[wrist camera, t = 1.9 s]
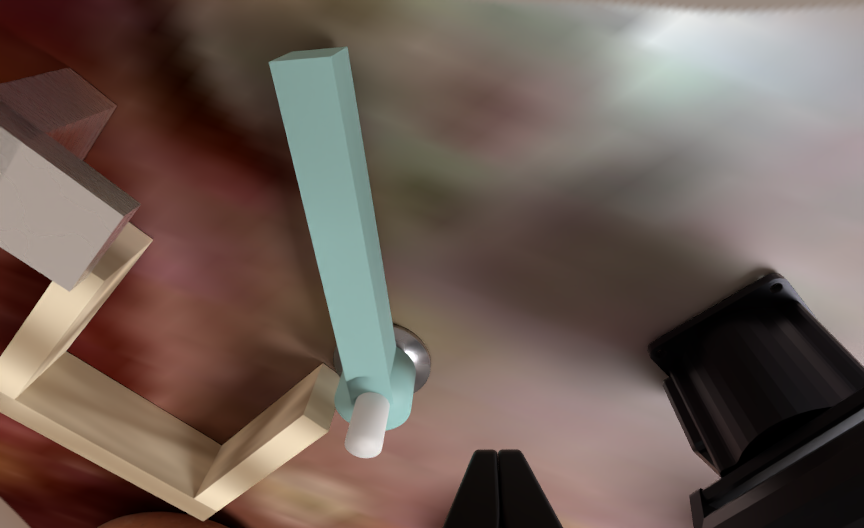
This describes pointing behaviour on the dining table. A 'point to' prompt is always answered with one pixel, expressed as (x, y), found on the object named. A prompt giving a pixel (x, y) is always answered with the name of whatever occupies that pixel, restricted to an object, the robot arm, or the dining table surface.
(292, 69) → the link
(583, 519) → the dining table surface
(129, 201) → the grey hooked piece
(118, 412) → the cream c-clamp frame
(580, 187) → the dining table surface
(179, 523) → the ceramic jug
